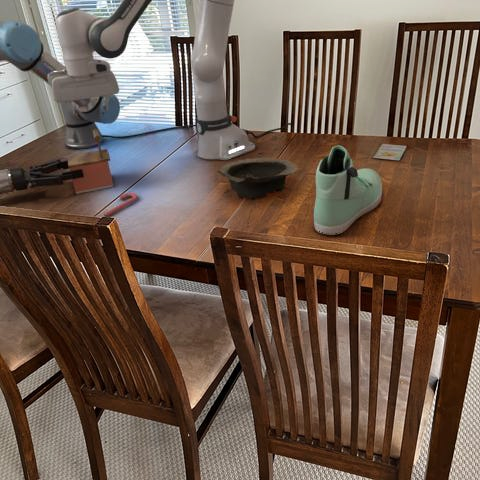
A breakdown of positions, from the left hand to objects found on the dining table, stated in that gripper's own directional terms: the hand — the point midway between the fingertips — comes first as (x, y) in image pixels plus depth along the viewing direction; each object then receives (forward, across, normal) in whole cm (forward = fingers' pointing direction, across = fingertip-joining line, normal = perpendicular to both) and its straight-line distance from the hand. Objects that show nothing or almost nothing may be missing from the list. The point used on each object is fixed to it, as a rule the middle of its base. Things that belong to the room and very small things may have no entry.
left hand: (82, 167), depth 162 cm
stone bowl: (+52, +29, -7) cm, 60 cm away
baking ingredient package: (+106, +24, -7) cm, 108 cm away
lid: (+3, 0, +2) cm, 4 cm away
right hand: (+7, 0, +18) cm, 19 cm away
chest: (+2, 0, -7) cm, 7 cm away
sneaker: (+71, +54, -7) cm, 89 cm away
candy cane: (+9, +22, -7) cm, 24 cm away
